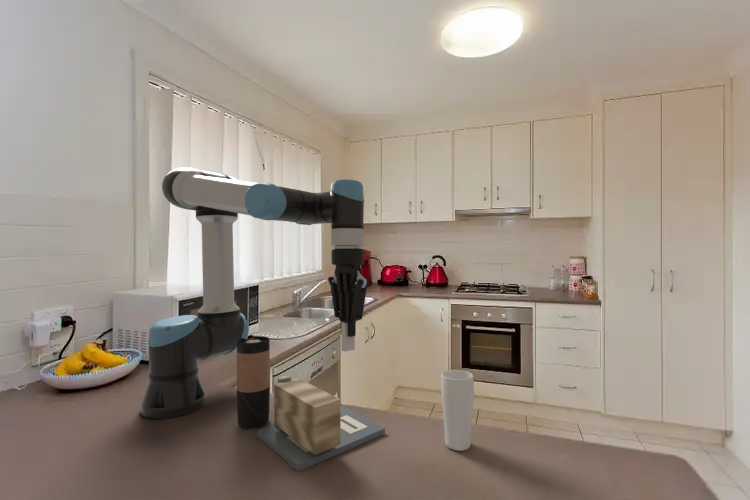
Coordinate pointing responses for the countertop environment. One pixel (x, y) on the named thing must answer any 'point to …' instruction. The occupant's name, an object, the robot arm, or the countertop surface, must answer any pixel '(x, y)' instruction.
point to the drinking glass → (457, 408)
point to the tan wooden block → (307, 414)
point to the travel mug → (253, 382)
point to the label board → (300, 458)
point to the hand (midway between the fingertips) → (348, 349)
